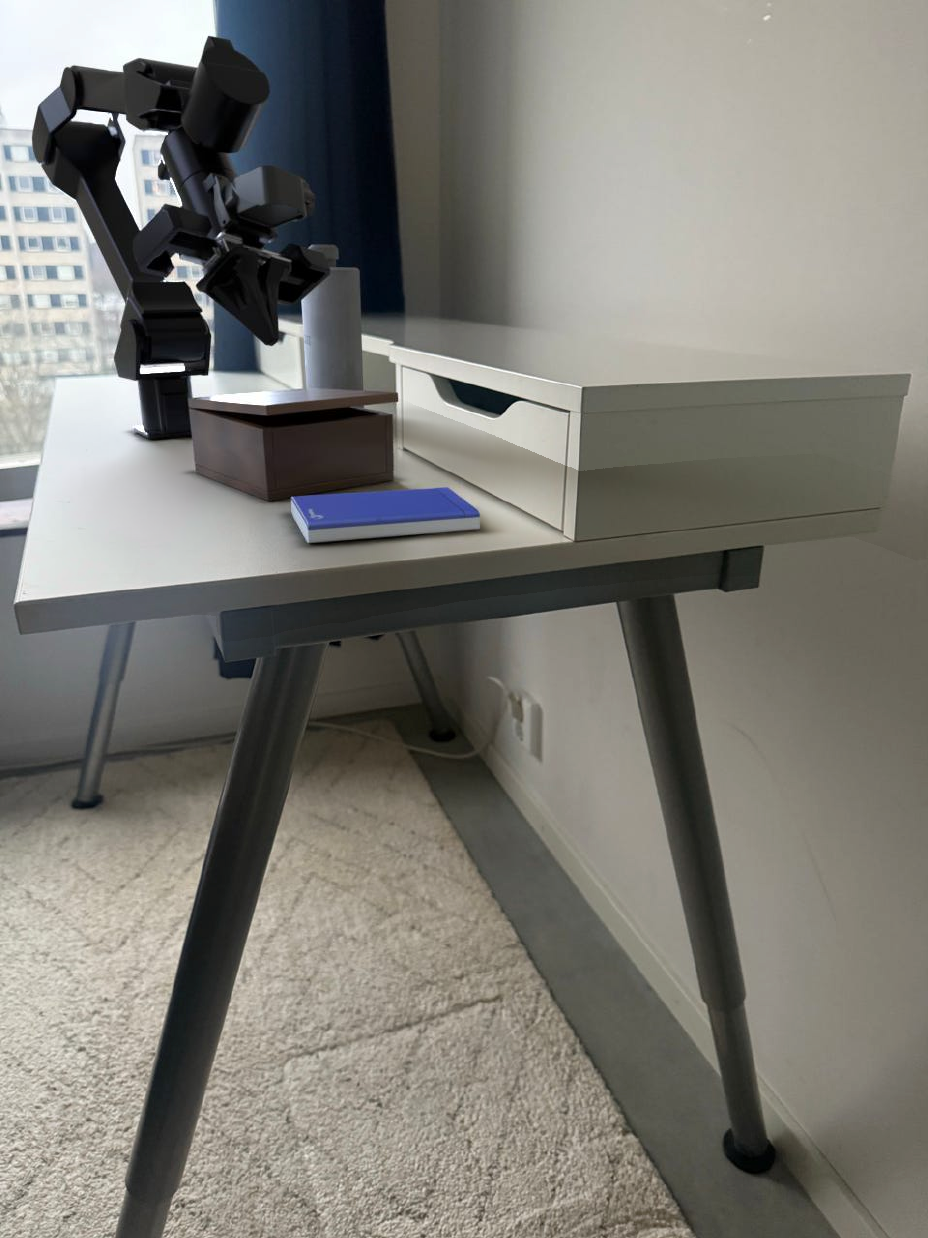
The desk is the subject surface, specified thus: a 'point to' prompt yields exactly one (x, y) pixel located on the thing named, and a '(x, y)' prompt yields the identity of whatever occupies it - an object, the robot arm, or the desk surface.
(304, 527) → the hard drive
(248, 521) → the desk surface
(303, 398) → the lid
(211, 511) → the desk surface
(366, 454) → the keepsake box
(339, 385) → the flask
